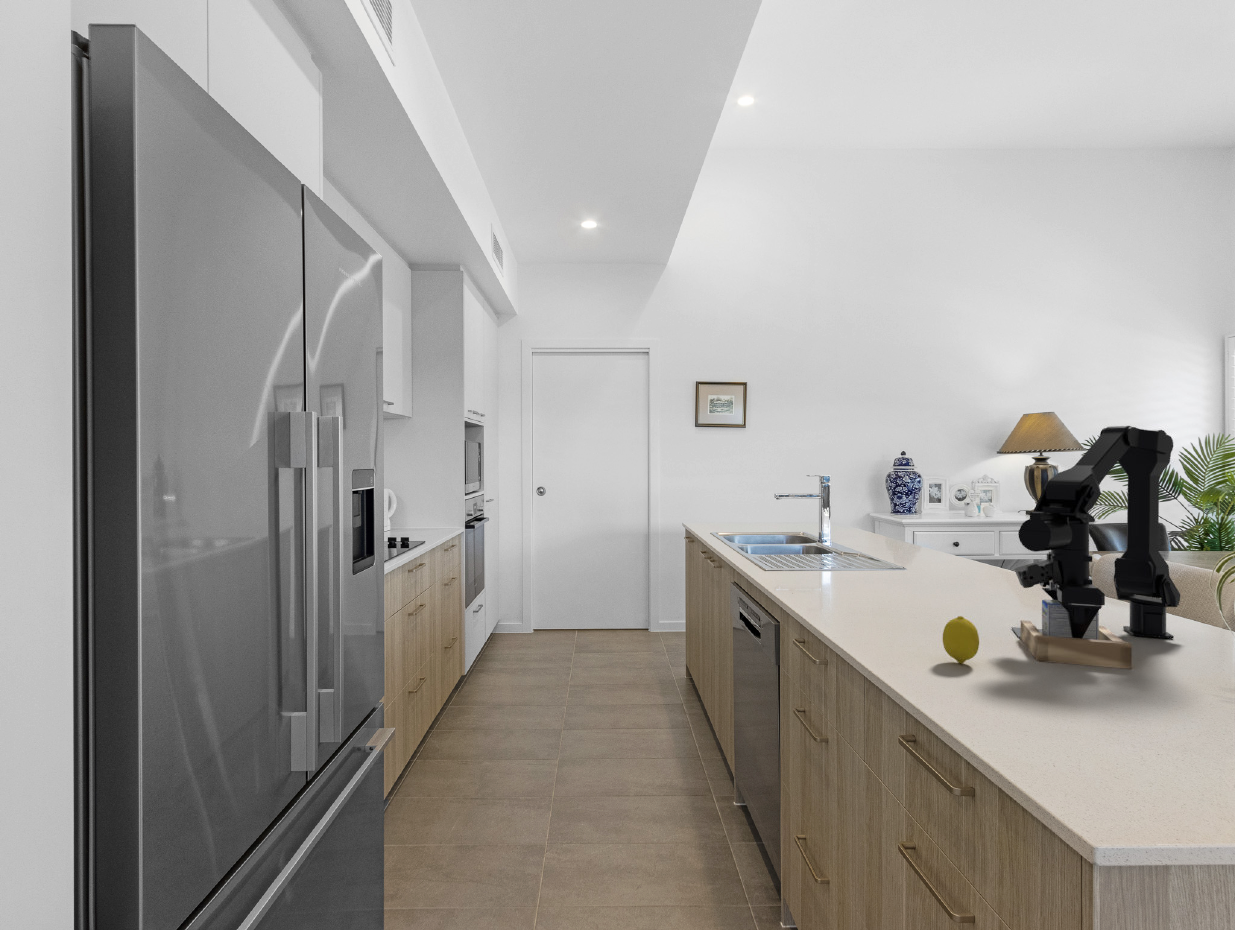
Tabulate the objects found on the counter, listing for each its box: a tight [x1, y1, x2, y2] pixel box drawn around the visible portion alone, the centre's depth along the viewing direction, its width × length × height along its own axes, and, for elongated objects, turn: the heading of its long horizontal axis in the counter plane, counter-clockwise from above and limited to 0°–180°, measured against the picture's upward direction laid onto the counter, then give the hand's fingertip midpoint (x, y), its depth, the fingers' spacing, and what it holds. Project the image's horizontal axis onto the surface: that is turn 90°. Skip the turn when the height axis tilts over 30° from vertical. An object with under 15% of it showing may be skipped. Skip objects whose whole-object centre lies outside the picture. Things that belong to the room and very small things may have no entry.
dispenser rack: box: [1020, 619, 1133, 670], centre depth 123 cm, size 16×13×4 cm
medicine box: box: [1041, 599, 1100, 640], centre depth 124 cm, size 8×4×9 cm, turn 71°
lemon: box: [942, 615, 980, 665], centre depth 117 cm, size 6×6×8 cm
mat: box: [1010, 626, 1042, 639], centre depth 134 cm, size 8×12×1 cm, turn 69°
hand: (1069, 635), depth 124 cm, fingers open, 9 cm apart
